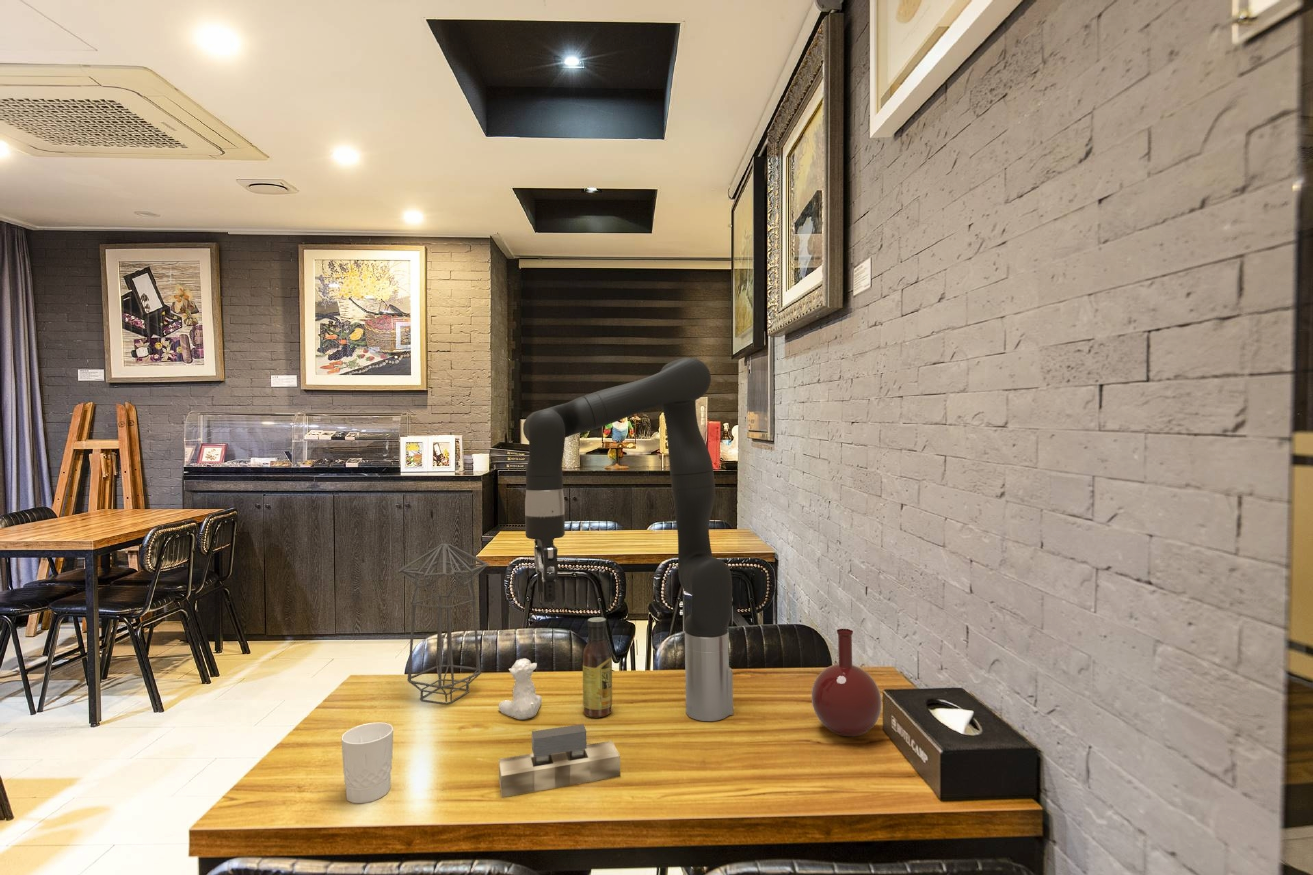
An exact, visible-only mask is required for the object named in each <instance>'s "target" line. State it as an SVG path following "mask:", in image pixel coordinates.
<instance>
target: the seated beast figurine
mask: <svg viewBox="0 0 1313 875" xmlns="http://www.w3.org/2000/svg"><path fill="white" fill-rule="evenodd" d="M537 664H538V663H537V662H533V663H532V662H531V660H529V659H528V658H526V657H525V658H519V659H516V660H515V662H514V664H513V665H512V666H511V668H508V670H509V672H510V675H511V676H512V678H513V679H514V685H513V690H512V701H511V700H509V699H504V700H502V701H499V704H498V710H499V711H500V713H501V714H503V715H505V716H508V717H511V718H514V719H516V720H519V721H520V720H522V721H523V720H528V719H532V718H534V717H535V716H536V715H537V713H538V712H539V709H540V708H541V707H540V706H541V705H542V696H541V695H540V694H539V695H538V694H537V693H536V687H535V684H534V682H533V679H532V678H531V677H532V675H533V673H534V670H536V668H537Z"/></svg>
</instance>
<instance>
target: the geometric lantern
mask: <svg viewBox="0 0 1313 875" xmlns="http://www.w3.org/2000/svg"><path fill="white" fill-rule="evenodd" d="M441 553H442V561H439V560H440V557H441ZM446 553H447V554H448V558H449V561H448V560H447V558H446V557H447V556H446V555H447V554H446ZM461 555H463V556H465V557H467V558H469V559H471V560H473V561H476V563H470V562H468V561H467V560H466V559H465V558H463V557H462V556H461ZM427 556H429V557H427ZM425 557H427V558H426V560H424V561H423V563H422V564H421V565H420V566H419V567H418V568H409V567H410V566H412V565H413V564H415V563H417V562H419V561H421V560H422V559H424V558H425ZM436 560H437V561H436ZM439 564H442V572H437V573H436V572H435V573H434V571H435V570H436V568H437V567H438V565H439ZM453 566H454V567H455V568H454V567H453ZM476 566H477V567H476ZM487 566H490V564H489V563H488V562H486V561H484V560H481V558H478V557H476V556H474V555H472V554H470V553H469V552H466V551H464V550H462V549H460V548H458V547H456V546H454V545H452V544H450V543H441V544H439V545H438V546H436V547H435V548H433V549H432V550H430V551H428V552H426V553H425V554H423V555H421V556H419V557H418V558H416V559H415V560H413V561H411V562H409V563H407V564H406V565H404V566H402V567H400V568H399V569H398V573H400V574H402V575H403V576H404V577H405V578H406V579H407V580H408V581H409V582H411V584H413V585H414V586H415V590H414V592H413V593H414V594H413V597H412V600H411V603H410V605H411V616H410V640H409V641H410V642H409V658H408V669H407V670H408V671H407V683H409V684H411V685H412V686H414V688H416V689H417V690H419V692H420V698H419V700H420V701H421V702H425V703H433V704H439V705H445V706H446V705H449V704H453V703H454V702H456V701H458V699H461V698H462V697H464V696H465V695H467V694H468V693H470V684H471V683H472V682H473V681H474V680H475V679H477V678H478V677H479V676H480V675H481V674H482V672H481V660H480V659H481V658H480V649H479V637H478V635H479V634H478V625H477V624H478V621H477V620H478V619H477V602H476V601H477V600H476V599H477V597H476V594H475V588H474V587H475V586H474V580H475V578H476V577H478V575H480V574H481V572H483V570H484V569H486V568H487ZM432 567H433V568H432ZM447 568H449V569H450V570H451V571H450V573H447ZM464 569H466V570H464ZM423 570H426V571H425V572H422V571H423ZM430 570H431V571H430ZM469 573H470V574H469ZM413 574H414V575H413ZM465 574H469V575H465ZM420 575H421V576H423V578H420ZM456 575H457V576H456ZM435 576H437V577H435ZM443 576H452V577H453V578H454V579H455V582H454V583H453V585H452V587H451V588H450V590H449V592H448V593H447V594H440V593H439V591H438V590H437V589H436V588H435V586H434V585H433V583H435V582H437V581H438V580H440V579H441V578H442V577H443ZM431 577H435V578H434V579H432V580H431V581H430V579H431ZM461 578H462V580H460V579H461ZM465 579H466V581H465ZM420 582H424V584H420ZM427 582H428V583H427ZM457 583H458V585H457ZM456 585H457V586H456ZM466 585H467V586H468V590H469V594H470V596H468V595H467V596H466V595H455V594H456V592H457V590H458V589H459V587H460V586H461V587H465V586H466ZM420 588H422V589H423V588H427V589H428V590H429V592H430V593H431V595H432V596H431V597H428V598H425V599H422V600H418V601H417V598H418V593H419V589H420ZM432 588H433V589H434V591H435V592H436V594H437V595H436V594H435V593H434V591H433V589H432ZM453 590H454V591H453ZM452 592H453V593H452ZM451 593H452V594H451ZM442 598H446V604H445V605H442ZM453 598H463V599H470V600H467V601H462V602H459V603H457V604H454V605H450V602H451V600H453ZM430 600H435V602H436V603H437V605H428V604H419V603H423V602H426V601H430ZM468 603H471V604H472V615H473V626H474V646H475V647H474V648H475V667H472V666H462V665H455V664H454V656H453V640H452V620H451V619H452V618H451V608H455V607H457V606H461V605H464V604H468ZM417 607H421V608H422V607H424V608H425V607H426V608H435V609H438V612H437V613H438V614H437V615H438V616H437V631H436V632H437V634H436V635H437V636H436V655H435V666H433V667H430V668H428V669H426V670H422V671H421V672H419V673H416V674H414V675H412V670H413V669H412V667H413V666H412V665H413V664H412V663H413V646H414V634H415V622H416V612H417V611H416V610H417V609H416V608H417ZM443 609H446V642H447V643H446V647H447V648H446V651H447V653H446V654H447V657H446V658H447V660H446V662H447V664H442V663H443V662H442V659H443V658H442V655H443V654H442V653H443V651H442V647H443V646H442V645H443V644H442V640H443V639H442V638H443V633H442V631H443V616H442V614H443V612H442V611H443ZM442 668H446V670H445V672H444V675H443V678H442V673H443V672H442ZM449 668H450V677H451V678H450V679H448V678H446V677H447V673H448V670H449ZM454 668H455V669H465V670H472V671H474V672H473V673H472V674H471V675H469V676H467V677H464V678H462V679H460V680H459V679H455V676H454ZM435 669H436V673H437V678H438V680H436V681H433V682H431V683H428V682H427V683H426V682H421V681H415V680H413V679H414V678H417V677H420V676H422V675H424V674H426V673H429V672H430V671H433V670H435ZM446 682H451V683H447V684H445V683H446ZM436 683H437V684H436ZM461 683H464V684H463V685H461V686H459V687H455V686H456V685H459V684H461ZM419 686H423V687H422V688H421V687H419ZM427 688H435V689H433V690H425V689H427ZM445 689H450V690H449V692H446V690H445ZM437 690H441V691H442V692H441V691H440V692H439V691H437ZM458 690H459V691H466V692H464V693H463V694H461V695H459V696H457V697H455V699H453V693H455V692H456V691H458ZM424 693H426V694H425V695H424ZM431 694H437V695H442V696H443V695H444V696H445V697H444V698H445V699H444V700H445V702H444V701H438V700H429V699H424V698H426V697H427V696H429V695H431ZM448 695H450V698H449V699H450V700H449V701H448Z"/></svg>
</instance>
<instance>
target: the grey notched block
mask: <svg viewBox="0 0 1313 875" xmlns="http://www.w3.org/2000/svg"><path fill="white" fill-rule="evenodd" d="M587 736H588V735H587V729H586V726H585V724H584V723H581V724H573V725H567V726H559V727H552V728H546V729H538V730H533V731H531V751H532V754H533V755H534V757H535V766H541V765H547V764H549V760H548V755H549V754H555V753H562V752H568V751H570V761H571V760H577V759H583V749H587V745H588V744H587V743H588V742H587V741H588V740H587V739H588V738H587Z"/></svg>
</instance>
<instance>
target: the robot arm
mask: <svg viewBox="0 0 1313 875" xmlns="http://www.w3.org/2000/svg"><path fill="white" fill-rule="evenodd" d="M711 378H712V377H711V372H710V369H709V367H708V366H707V365H706V363H704V362H703V361H702V360H700V359H697V358H695V357H682V358H679V359H675V360H672V361H669V362H667V363H666V364H665V365H663V367H662V368H661V370H660V371H659V372H657V373H655V374H653V375H650V376H647V377H645V378H641V379H638V380H635V381H630V382H628V383H623V384H620V385H616V386H612V387H608V388H604V389H600V390H597V391H594V392H592V393H588V394H585V395H582V396H580V397H577V398H575V399H572V400H570V401H568V402H566V403H562V404H561V403H560V404H557V405H555V406H550V407H547V408H543V409H540V410H536V411H533V412H531V413H530V414H529V415H528V416H527V417H526V418H525V420H524V423H523V425H522V429H523V430H522V432H523V434H524V437H525V438H526V440H527V441H528V461H527V464H526V469H525V473H526V474H525V483H526V484H525V488H526V489H525V499H524V513H525V514H524V515H525V516H524V517H525V518H524V519H525V521H524V522H525V525H524V526H525V529H524V530H525V537H526V538H527V539H530V540H534V542H533V543H534V548H533V553H534V567H535V572H536V573H537V576H536V577H537V578H536V581H537V584H536V585H537V586H536V587H537V589H536V590H537V591H538V593H542V599H543V602H544V603H551V602H552V603H554V602H555V601H556V582H557V581H558V579H559V573H558V547H557V546H555V542H554V540H555V539H560V538H563V537H564V536H565V535H566V525H565V524H566V522H565V519H566V517H565V513H566V512H565V496H564V489H563V488H564V479H563V478H564V476H563V475H564V474H563V458H564V452H565V444H566V443H565V442H566V438H568V437H571V436H574V435H575V434H582V433H588V432H590V431H593V430H596V429H599V428H603V427H606V426H608V425H611V424H613V423H617V422H619V421H621V420H623V419H626V418H629V417H632V416H634V415H636V414H639V413H641V412H645V411H648V410H650V409H654V408H656V407H660V406H661V407H662V412H663V417H664V422H665V429H666V439H667V440H666V441H667V451H668V461H669V474H670V482H671V491H672V498H673V506H674V514H675V521H676V524H675V525H676V528H677V529H676V530H677V550H678V551H677V557H678V558H677V559H678V560H677V562H678V563H677V566H678V568H677V570H678V571H677V572H678V573H677V574H678V580H679V583H680V585H681V587H682V589H683V590H684V591H685V592H686V593H688V594H689V595H691V610H690V612H691V613H690V614H689V615H687V616H686V617H685V619H684V662H685V663H684V666H685V673H684V674H685V712H686V716H688V717H689V718H691V719H693V720H697V721H703V722H715V721H721V720H723V719H726V718H727V717H729V716H733V715H734V694H733V693H734V688H733V687H734V682H733V677H734V676H733V673H734V672H733V669H732V668H731V667H730V665H729V664H730V663H729V662H730V661H729V660H730V659H729V624H730V621H731V618H732V613H733V611H732V609H733V605H732V604H733V580H732V579H733V578H732V573H731V569H730V568H729V566H728V565H727V563H726V562H724V561H723V560H721V559H719V558H717V557H714V555H713V551H712V547H711V540H710V522H711V517H712V512H713V508H714V504H715V499H716V498H715V497H716V483H715V482H716V481H715V474H714V473H715V472H714V466H713V460H712V458H711V455H710V452H709V449H708V447H707V445H706V442H705V440H704V438H703V437H704V436H703V435H702V433H701V430H700V427H699V422H698V417H697V407H696V403H697V400H699V399H701V398H702V397H704V395H705V394H707V392H708V390H709V389H710V385H711V381H712V379H711ZM549 572H551V573H549Z"/></svg>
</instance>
